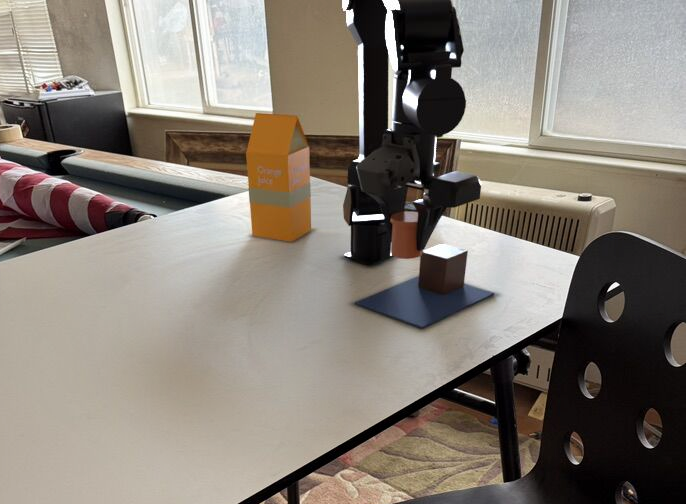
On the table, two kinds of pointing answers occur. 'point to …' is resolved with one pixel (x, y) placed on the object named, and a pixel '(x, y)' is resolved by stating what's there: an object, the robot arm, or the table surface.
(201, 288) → the table surface
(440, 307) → the cloth
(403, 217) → the terracotta pot
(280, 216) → the orange juice
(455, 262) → the walnut block
